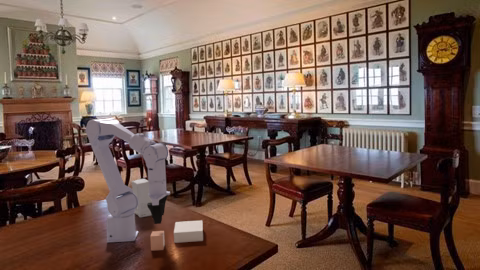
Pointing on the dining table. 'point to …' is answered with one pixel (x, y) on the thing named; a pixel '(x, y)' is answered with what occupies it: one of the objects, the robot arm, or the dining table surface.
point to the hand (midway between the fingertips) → (159, 219)
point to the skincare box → (142, 197)
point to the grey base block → (188, 231)
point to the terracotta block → (157, 240)
